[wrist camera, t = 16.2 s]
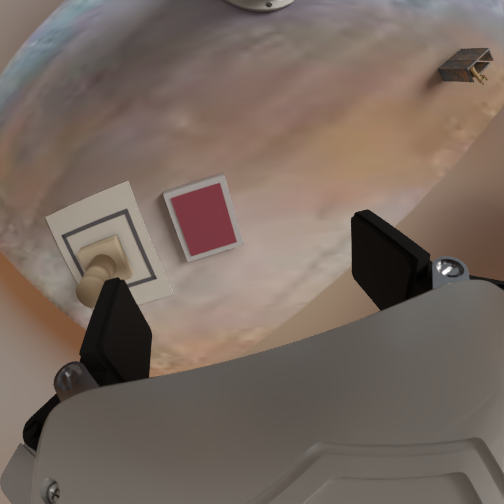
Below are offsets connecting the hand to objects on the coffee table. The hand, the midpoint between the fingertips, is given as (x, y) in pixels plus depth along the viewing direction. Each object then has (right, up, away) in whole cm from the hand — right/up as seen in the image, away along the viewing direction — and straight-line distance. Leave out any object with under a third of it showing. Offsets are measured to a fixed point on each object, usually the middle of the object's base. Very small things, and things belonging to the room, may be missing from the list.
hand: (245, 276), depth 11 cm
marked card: (-20, 0, +26) cm, 33 cm away
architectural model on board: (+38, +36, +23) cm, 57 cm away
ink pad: (-6, +6, +27) cm, 28 cm away
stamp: (-20, 0, +26) cm, 33 cm away
